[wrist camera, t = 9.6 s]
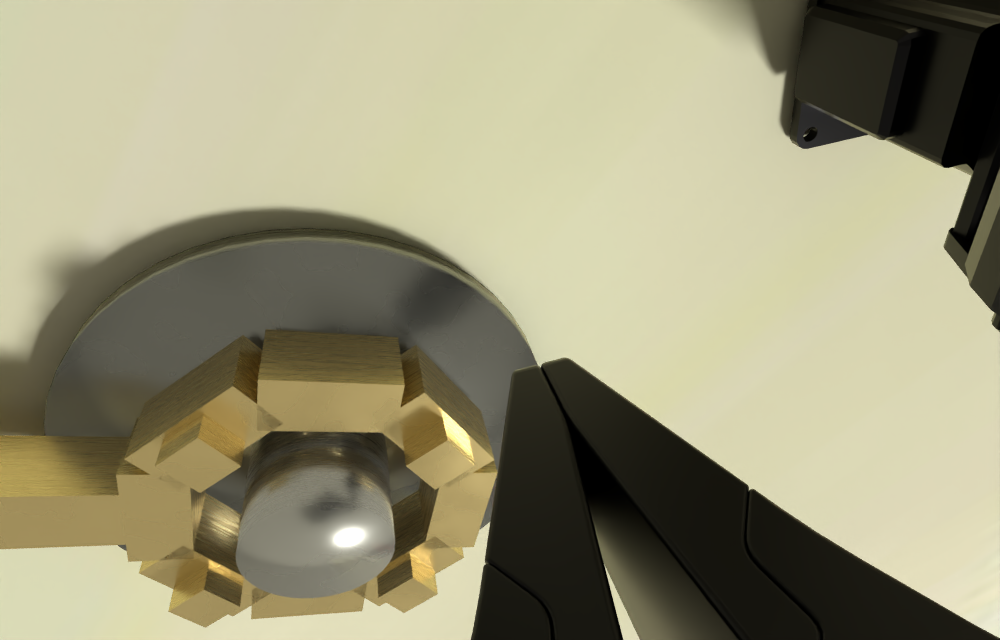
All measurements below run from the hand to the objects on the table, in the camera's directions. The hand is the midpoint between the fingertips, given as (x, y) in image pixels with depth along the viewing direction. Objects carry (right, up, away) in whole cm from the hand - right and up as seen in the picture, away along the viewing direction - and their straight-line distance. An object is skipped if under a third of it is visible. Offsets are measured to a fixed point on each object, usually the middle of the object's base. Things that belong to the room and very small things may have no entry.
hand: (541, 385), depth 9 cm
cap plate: (-8, -4, +16) cm, 18 cm away
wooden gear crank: (-11, -4, +13) cm, 18 cm away
